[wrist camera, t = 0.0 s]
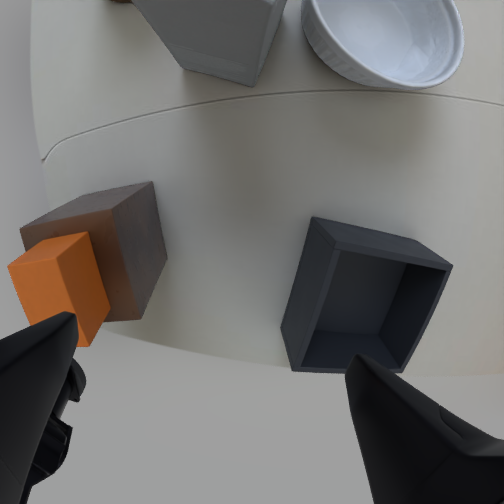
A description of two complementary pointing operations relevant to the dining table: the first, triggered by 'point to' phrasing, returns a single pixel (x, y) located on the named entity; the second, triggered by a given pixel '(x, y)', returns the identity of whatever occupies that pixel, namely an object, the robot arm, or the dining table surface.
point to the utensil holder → (122, 1)
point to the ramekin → (386, 40)
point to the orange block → (62, 283)
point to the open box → (360, 298)
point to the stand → (113, 242)
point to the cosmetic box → (216, 34)
